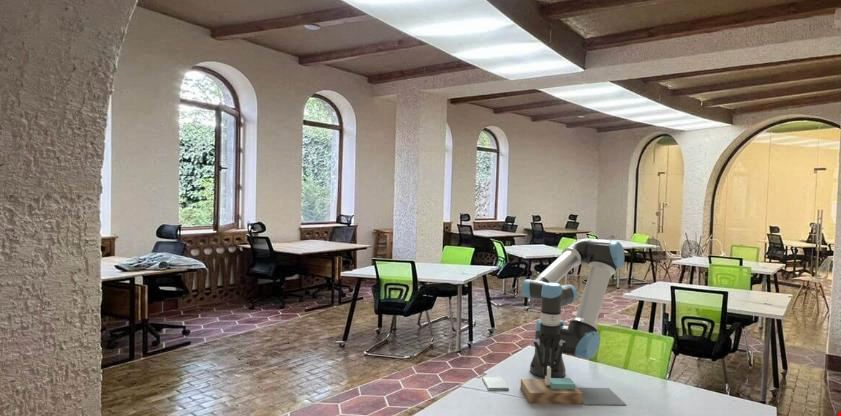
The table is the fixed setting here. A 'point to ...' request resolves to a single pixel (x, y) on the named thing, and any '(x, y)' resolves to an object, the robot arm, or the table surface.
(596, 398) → the mat
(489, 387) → the hard drive
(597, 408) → the table surface
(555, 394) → the deck
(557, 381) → the teal foam pad
